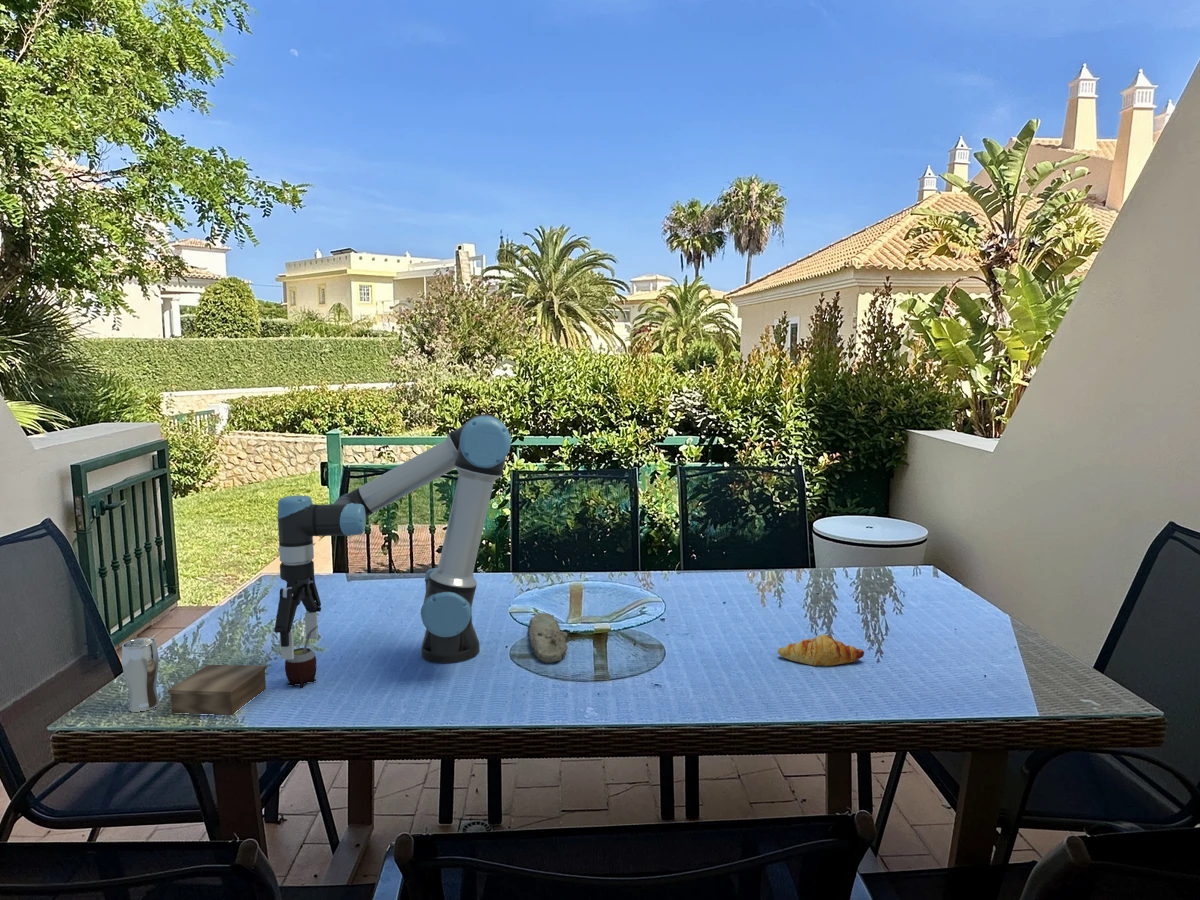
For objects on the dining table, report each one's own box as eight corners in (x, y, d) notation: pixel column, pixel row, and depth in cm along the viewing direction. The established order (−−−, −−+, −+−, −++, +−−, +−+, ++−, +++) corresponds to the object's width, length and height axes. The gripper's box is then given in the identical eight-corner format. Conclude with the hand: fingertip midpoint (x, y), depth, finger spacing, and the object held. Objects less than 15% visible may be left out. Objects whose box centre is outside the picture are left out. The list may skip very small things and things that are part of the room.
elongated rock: (558, 625, 228) (525, 629, 227) (557, 607, 228) (524, 611, 226) (573, 662, 194) (534, 667, 192) (571, 642, 193) (532, 646, 192)
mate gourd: (286, 680, 186) (283, 620, 184) (321, 675, 189) (317, 616, 187) (285, 692, 179) (282, 630, 177) (321, 687, 182) (318, 625, 180)
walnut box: (267, 690, 181) (266, 665, 180) (233, 718, 166) (231, 691, 166) (209, 688, 182) (207, 664, 182) (169, 716, 168) (167, 690, 167)
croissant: (778, 675, 193) (779, 654, 189) (775, 645, 201) (776, 624, 197) (865, 677, 190) (868, 655, 186) (859, 646, 198) (861, 625, 194)
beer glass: (168, 699, 176) (163, 636, 174) (151, 713, 169) (146, 647, 167) (137, 700, 175) (132, 637, 174) (119, 714, 168) (113, 648, 167)
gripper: (303, 549, 193) (306, 630, 195) (255, 575, 168) (259, 667, 170) (332, 549, 193) (335, 630, 195) (288, 575, 168) (292, 668, 170)
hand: (300, 648), depth 183 cm, fingers open, 13 cm apart
